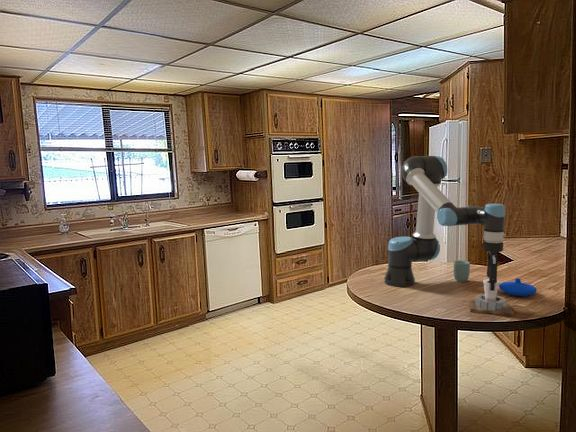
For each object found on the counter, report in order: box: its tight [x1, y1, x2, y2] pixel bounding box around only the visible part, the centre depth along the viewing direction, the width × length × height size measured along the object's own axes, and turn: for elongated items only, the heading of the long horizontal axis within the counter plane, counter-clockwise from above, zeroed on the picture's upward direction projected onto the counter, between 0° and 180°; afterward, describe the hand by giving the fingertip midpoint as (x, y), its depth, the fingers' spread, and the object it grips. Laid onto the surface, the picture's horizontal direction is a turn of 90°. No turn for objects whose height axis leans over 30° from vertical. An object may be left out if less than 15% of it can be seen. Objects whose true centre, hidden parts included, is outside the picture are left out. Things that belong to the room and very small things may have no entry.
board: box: [468, 299, 514, 316], centre depth 184 cm, size 16×12×1 cm
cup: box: [453, 260, 471, 283], centre depth 226 cm, size 8×8×10 cm
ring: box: [474, 293, 507, 311], centre depth 184 cm, size 12×12×4 cm
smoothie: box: [482, 278, 501, 301], centre depth 183 cm, size 6×6×14 cm
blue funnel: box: [498, 278, 537, 297], centre depth 204 cm, size 16×16×7 cm
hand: (490, 295), depth 184 cm, fingers closed on smoothie, 6 cm apart
